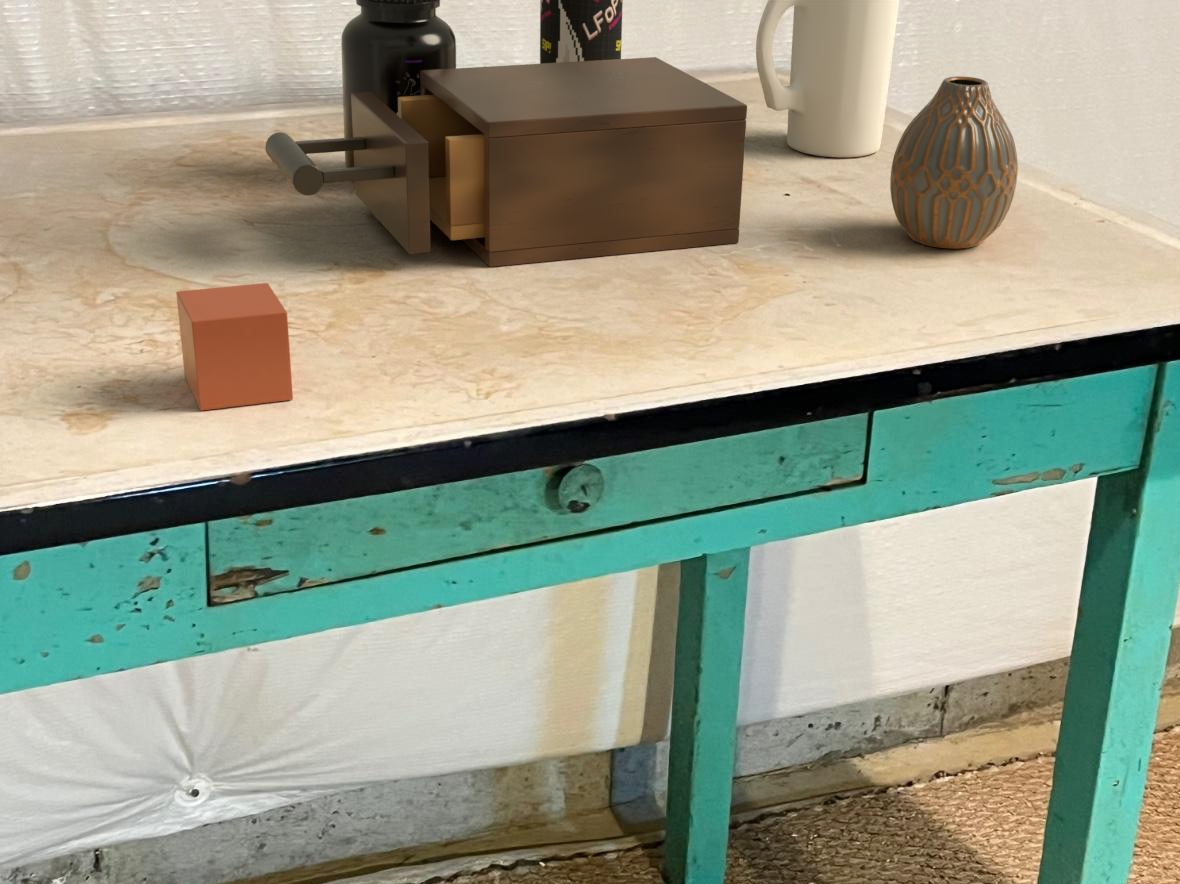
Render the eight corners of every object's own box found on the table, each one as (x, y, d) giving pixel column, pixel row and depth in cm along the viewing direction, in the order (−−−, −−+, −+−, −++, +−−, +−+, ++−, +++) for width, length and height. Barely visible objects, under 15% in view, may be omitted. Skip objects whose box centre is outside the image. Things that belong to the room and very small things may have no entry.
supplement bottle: (412, 198, 101) (406, -14, 95) (323, 179, 104) (312, -28, 98) (479, 173, 106) (477, -30, 100) (392, 156, 109) (385, -42, 103)
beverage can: (576, 121, 118) (579, -63, 112) (523, 105, 122) (523, -73, 116) (636, 109, 122) (641, -69, 116) (582, 94, 125) (585, -79, 119)
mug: (845, 129, 118) (863, -54, 112) (904, 153, 113) (925, -38, 107) (722, 144, 114) (733, -46, 108) (778, 169, 108) (792, -29, 103)
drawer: (306, 264, 87) (299, 150, 84) (261, 203, 96) (254, 98, 93) (647, 232, 93) (651, 125, 90) (574, 177, 102) (576, 79, 99)
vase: (925, 262, 92) (945, 99, 88) (862, 226, 98) (877, 71, 94) (1031, 251, 95) (1056, 90, 90) (964, 216, 100) (984, 64, 96)
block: (200, 411, 72) (191, 321, 70) (184, 377, 75) (175, 291, 73) (293, 400, 73) (287, 311, 72) (274, 367, 77) (268, 282, 75)
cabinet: (489, 267, 90) (488, 122, 86) (423, 202, 100) (419, 70, 96) (738, 243, 95) (747, 104, 91) (651, 183, 105) (656, 56, 101)
